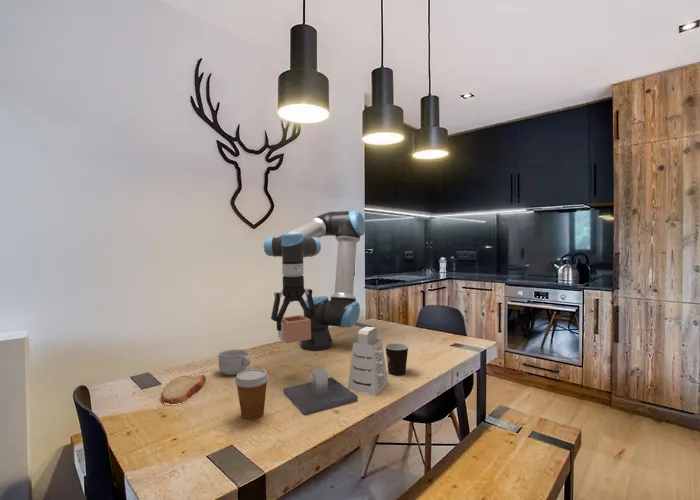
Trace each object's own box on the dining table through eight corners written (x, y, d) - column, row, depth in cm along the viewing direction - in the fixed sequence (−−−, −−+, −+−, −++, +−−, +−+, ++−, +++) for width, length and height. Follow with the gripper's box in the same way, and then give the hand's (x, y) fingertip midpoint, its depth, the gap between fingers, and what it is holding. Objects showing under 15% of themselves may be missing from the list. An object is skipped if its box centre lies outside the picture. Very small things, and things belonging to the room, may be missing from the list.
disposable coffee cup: (270, 419, 104) (269, 378, 104) (235, 425, 101) (234, 382, 101) (268, 405, 113) (267, 366, 113) (235, 409, 110) (234, 370, 110)
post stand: (283, 392, 122) (283, 367, 122) (331, 381, 131) (331, 358, 131) (304, 414, 107) (304, 386, 106) (357, 400, 116) (357, 374, 115)
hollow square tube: (278, 336, 134) (278, 318, 134) (301, 333, 139) (301, 314, 138) (287, 343, 126) (286, 323, 126) (311, 339, 131) (310, 319, 130)
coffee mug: (407, 377, 134) (407, 350, 134) (384, 376, 136) (384, 349, 135) (409, 366, 145) (409, 341, 145) (387, 365, 147) (387, 340, 147)
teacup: (213, 373, 141) (213, 352, 140) (239, 365, 149) (238, 346, 148) (232, 382, 131) (231, 360, 131) (258, 374, 139) (257, 353, 139)
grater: (388, 383, 129) (387, 327, 128) (375, 394, 120) (375, 334, 119) (361, 378, 134) (361, 324, 133) (347, 388, 125) (346, 330, 124)
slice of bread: (170, 409, 112) (170, 397, 112) (146, 393, 124) (146, 382, 123) (223, 390, 126) (223, 379, 125) (198, 377, 137) (197, 367, 137)
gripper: (266, 278, 123) (268, 344, 124) (325, 274, 133) (326, 335, 135) (260, 276, 129) (262, 339, 130) (316, 272, 140) (317, 330, 141)
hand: (294, 337), depth 132 cm, fingers closed on hollow square tube, 9 cm apart
